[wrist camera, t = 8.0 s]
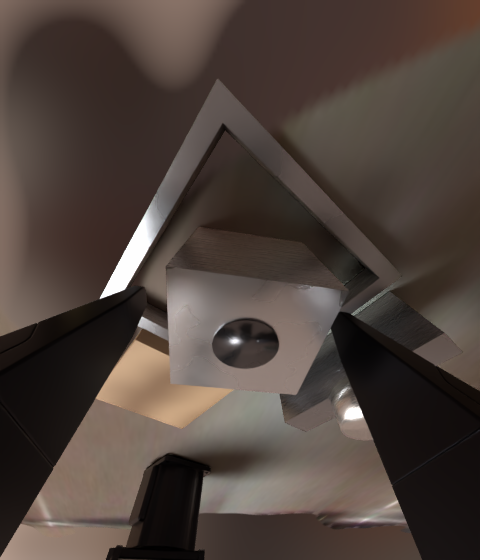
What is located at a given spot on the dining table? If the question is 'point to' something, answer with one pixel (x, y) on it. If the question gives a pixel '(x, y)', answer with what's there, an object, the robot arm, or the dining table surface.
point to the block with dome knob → (247, 311)
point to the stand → (155, 385)
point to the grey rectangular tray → (379, 271)
